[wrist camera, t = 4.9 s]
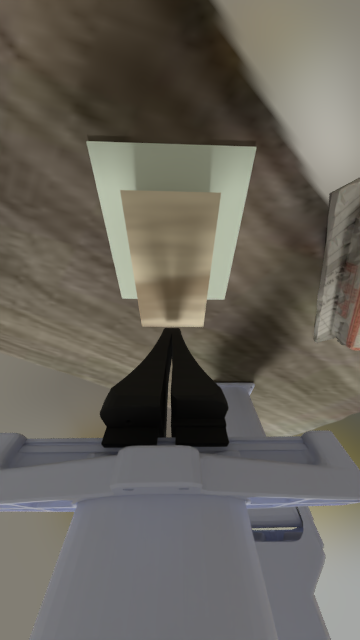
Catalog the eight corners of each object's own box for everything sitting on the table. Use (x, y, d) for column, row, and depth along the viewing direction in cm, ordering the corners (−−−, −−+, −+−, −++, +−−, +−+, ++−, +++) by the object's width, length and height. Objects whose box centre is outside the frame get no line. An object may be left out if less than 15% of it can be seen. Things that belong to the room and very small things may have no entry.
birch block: (203, 326, 14) (221, 192, 9) (142, 326, 14) (119, 189, 8) (198, 307, 17) (209, 201, 12) (148, 306, 17) (136, 199, 12)
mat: (223, 298, 17) (224, 299, 17) (122, 297, 17) (122, 298, 17) (254, 148, 10) (256, 146, 10) (88, 143, 10) (86, 141, 10)
